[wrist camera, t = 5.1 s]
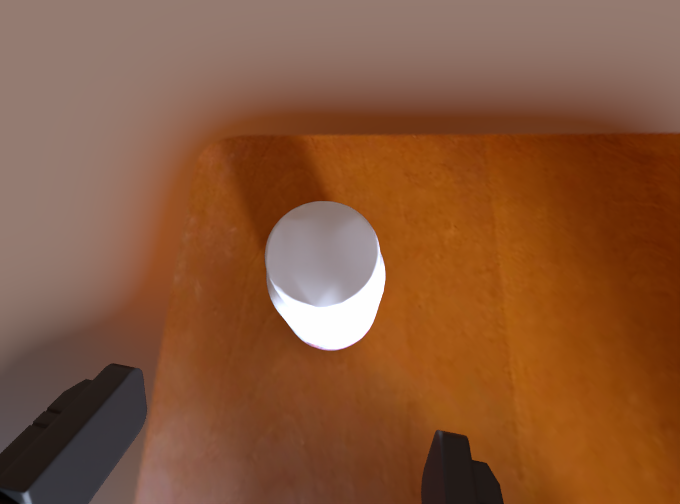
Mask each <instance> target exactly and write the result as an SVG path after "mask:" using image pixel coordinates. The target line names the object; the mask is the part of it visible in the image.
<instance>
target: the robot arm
mask: <svg viewBox="0 0 680 504" xmlns="http://www.w3.org/2000/svg"><path fill="white" fill-rule="evenodd" d="M146 414H147V405H146V396H145V388H144V379H143V373H142V370H140V369H139V368H134V367H129V366H124V365H119V364H110V365H108V366H107V367H105V368H104V369H103V370H102V371H101V373H100V374H99V375H98V376H97V377H96V378H95V379H94V380H87V379H86V380H84V381H82V382H80V383H78V384H77V385H75V386H73V387H72V388H70V389H68V390H66V391H65V392H63V393H62V394H61V395H60V396H59V397H58V398H57V399H56V400H55V401H54V402H53V403H52V404H51V405H50V406H49V407H48V408H47V411H46V412H45V411H44V412H43V413H42V414H41V415H40V416H39V417H38V418H37V419H36V420H35V421H33V424H32V425H29V426H28V427H27V428H26V429H25V430H24V431H23V432H22V433H21V434H20V435H19V436H18V437H17V438H16V439H15V440H14V441H13V442H12V443H11V444H10V445H9V446H8V447H7V448H6V449H5V450H4V451H3V452H2V453H1V454H0V504H88V503H89V502H90V501H91V499H92V498H93V496H94V495H95V493H96V492H97V491H98V490H99V488H100V487H101V485H102V484H103V483H104V481H105V480H106V478H107V477H108V476H109V474H110V473H111V471H112V470H113V468H114V467H115V466H116V464H117V463H118V462H119V460H120V459H121V457H122V456H123V455H124V453H125V452H126V450H127V449H128V448H129V446H130V445H131V443H132V442H133V441H134V439H135V438H136V436H137V435H138V434H139V432H140V430H141V429H142V427H143V424H144V422H145V419H146ZM421 501H422V504H504V502H503V498H502V493H501V489H500V484H499V483H498V481H497V479H496V478H495V476H494V474H493V473H492V471H491V469H490V468H489V466H488V464H487V463H484V462H479V461H474V460H472V458H471V452H470V446H469V441H468V438H467V436H465V435H460V434H455V433H450V432H445V431H440V430H437V431H436V432H435V435H434V438H433V441H432V444H431V447H430V451H429V454H428V457H427V460H426V463H425V467H424V471H423V476H422V486H421Z"/></svg>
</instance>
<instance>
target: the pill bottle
mask: <svg viewBox="0 0 680 504" xmlns="http://www.w3.org/2000/svg"><path fill="white" fill-rule="evenodd" d="M265 265H266V270H267V276H266V279H267V287H268V292H269V295H270V298H271V300H272V302H273V304H274V306H275V308H276V309H277V311H278V312H279V313H280V314H281V316H282V317H283V318H284V319H285V321H286V322H287V323H288V325H289V326H290V327H291V329H292V330H293V332H294V333H295V334H296V335H297V336H298V337H299V338H300V339H301V340H302V341H304V342H305V343H307V344H308V345H310V346H312V347H315V348H318V349H322V350H339V349H343V348H346V347H349V346H351V345H353V344H354V343H356V342H357V341H359V340H360V339H361V338H362V337H363V336H364V335H365V334H366V333H367V332H368V330H369V329H370V327H371V325H372V323H373V321H374V318H375V315H376V312H377V309H378V305H379V302H380V300H381V297H382V293H383V289H384V284H385V267H384V262H383V258H382V255H381V253H380V247H379V243H378V239H377V236H376V233H375V231H374V229H373V228H372V226H371V225H370V223H369V222H368V221H367V220H366V219H365V218H364V217H363V216H362V215H361V214H360V213H358V212H357V211H356V210H354V209H352V208H351V207H349V206H346V205H344V204H341V203H336V202H330V201H317V202H311V203H306V204H304V205H301V206H299V207H296V208H295V209H293V210H291V211H290V212H288V213H287V214H286V215H284V216H283V217H282V218H281V219H280V220H279V221H278V223H277V224H276V225H275V226H274V228H273V230H272V231H271V233H270V235H269V238H268V241H267V244H266V250H265Z"/></svg>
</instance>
